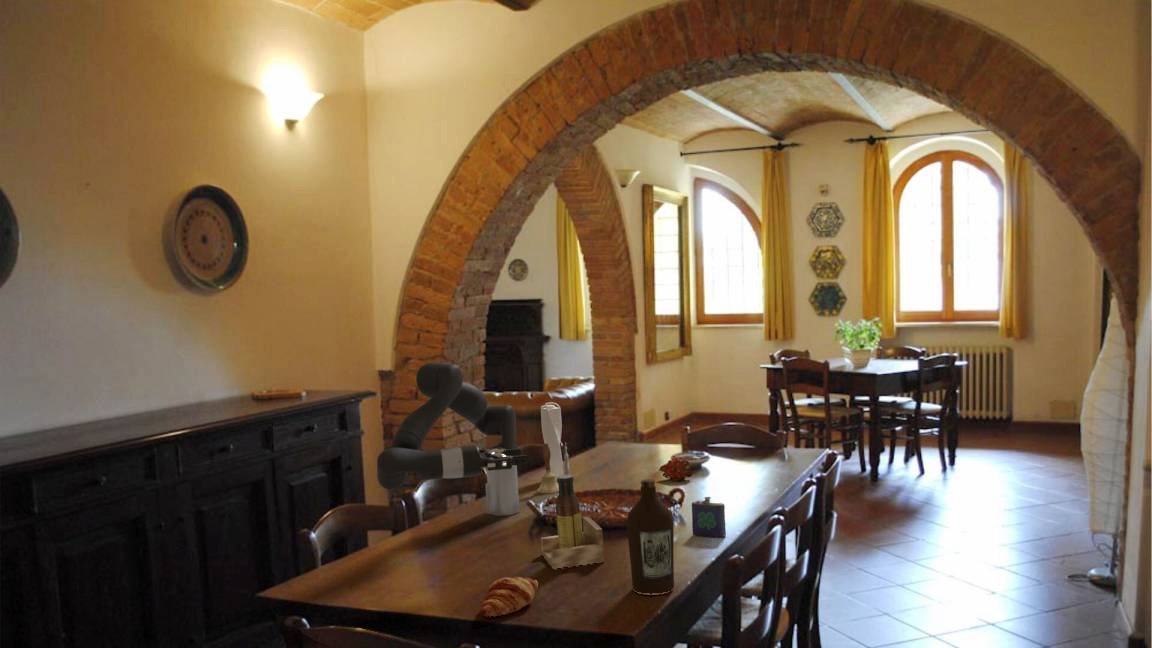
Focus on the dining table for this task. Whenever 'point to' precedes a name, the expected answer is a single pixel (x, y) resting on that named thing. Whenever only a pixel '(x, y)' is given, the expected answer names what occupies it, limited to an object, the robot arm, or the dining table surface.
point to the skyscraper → (554, 438)
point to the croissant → (508, 595)
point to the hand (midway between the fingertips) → (524, 456)
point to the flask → (708, 519)
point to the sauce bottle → (568, 514)
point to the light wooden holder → (575, 548)
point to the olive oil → (651, 542)
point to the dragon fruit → (677, 469)
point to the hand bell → (548, 475)
